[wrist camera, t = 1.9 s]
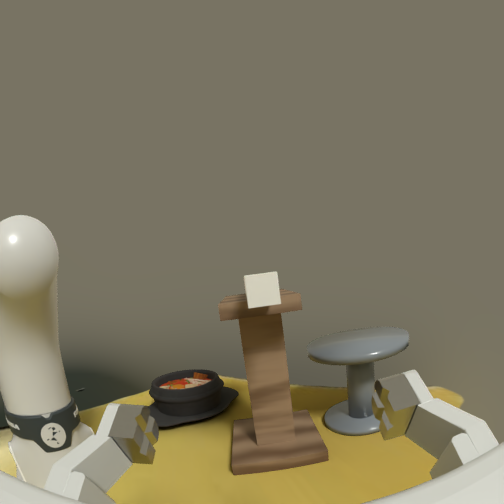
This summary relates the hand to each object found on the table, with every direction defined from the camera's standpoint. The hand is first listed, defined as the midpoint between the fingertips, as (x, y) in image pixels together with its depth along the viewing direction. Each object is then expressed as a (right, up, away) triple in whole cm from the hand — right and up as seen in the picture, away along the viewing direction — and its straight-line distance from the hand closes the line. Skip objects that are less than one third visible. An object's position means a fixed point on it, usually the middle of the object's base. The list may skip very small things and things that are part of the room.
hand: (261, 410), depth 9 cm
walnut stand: (+4, -27, +34) cm, 43 cm away
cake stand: (+20, -25, +38) cm, 49 cm away
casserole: (-14, -31, +52) cm, 62 cm away
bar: (0, -1, +30) cm, 30 cm away
